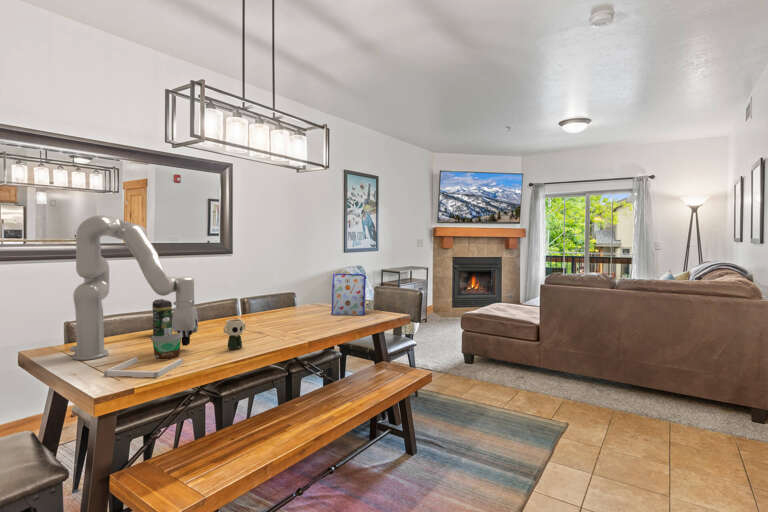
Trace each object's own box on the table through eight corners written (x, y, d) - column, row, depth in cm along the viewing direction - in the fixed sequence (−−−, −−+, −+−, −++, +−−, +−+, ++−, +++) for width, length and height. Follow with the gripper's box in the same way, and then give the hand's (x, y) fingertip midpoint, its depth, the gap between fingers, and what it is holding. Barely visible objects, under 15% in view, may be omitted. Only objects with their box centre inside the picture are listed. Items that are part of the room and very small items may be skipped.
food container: (154, 362, 170) (154, 338, 170) (151, 359, 175) (150, 335, 174) (186, 356, 178) (186, 333, 178) (182, 353, 183) (182, 331, 183)
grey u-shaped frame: (104, 376, 153) (104, 370, 153) (135, 362, 170) (135, 357, 170) (156, 377, 152) (156, 372, 152) (182, 363, 169) (182, 358, 169)
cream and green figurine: (228, 352, 186) (227, 323, 185) (219, 349, 190) (219, 321, 189) (249, 347, 194) (249, 319, 193) (241, 344, 198) (240, 317, 198)
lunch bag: (365, 311, 289) (366, 272, 288) (366, 315, 273) (366, 274, 271) (332, 311, 288) (332, 272, 287) (330, 315, 271) (331, 274, 270)
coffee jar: (150, 335, 215) (149, 299, 215) (166, 332, 222) (165, 297, 221) (158, 338, 209) (157, 301, 208) (174, 335, 215) (174, 299, 214)
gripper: (164, 305, 185) (165, 346, 186) (196, 306, 184) (197, 347, 185) (174, 302, 193) (174, 342, 194) (205, 303, 192) (205, 343, 193)
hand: (185, 344), depth 189 cm, fingers closed
